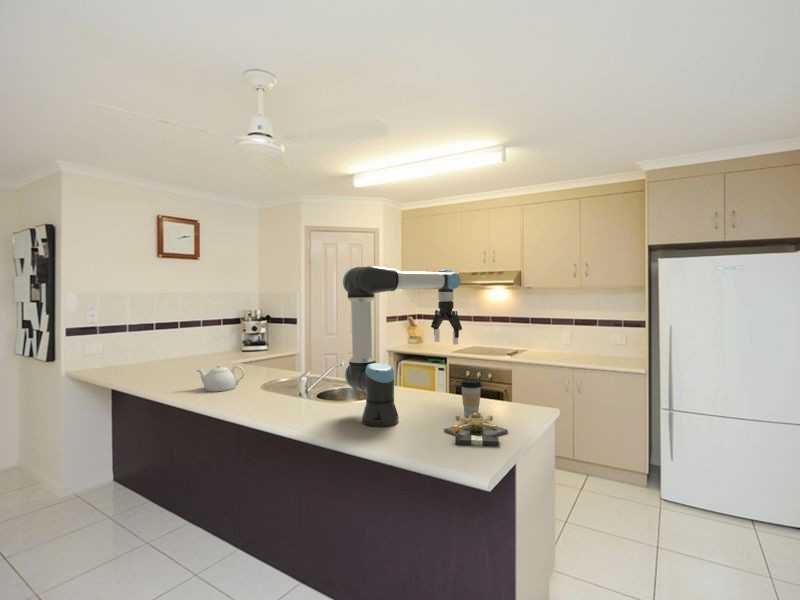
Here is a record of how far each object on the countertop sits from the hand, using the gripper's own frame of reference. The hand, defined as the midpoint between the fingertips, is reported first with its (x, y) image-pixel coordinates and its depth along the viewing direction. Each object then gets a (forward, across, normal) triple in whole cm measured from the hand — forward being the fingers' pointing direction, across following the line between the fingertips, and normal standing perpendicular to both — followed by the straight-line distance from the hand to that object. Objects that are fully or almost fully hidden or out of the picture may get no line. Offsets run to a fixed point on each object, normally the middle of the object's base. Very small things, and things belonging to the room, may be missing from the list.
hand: (446, 343), depth 223 cm
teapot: (+28, +94, +84) cm, 129 cm away
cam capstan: (+26, -48, +30) cm, 62 cm away
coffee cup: (+28, -30, +13) cm, 43 cm away
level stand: (+28, -50, +31) cm, 65 cm away
